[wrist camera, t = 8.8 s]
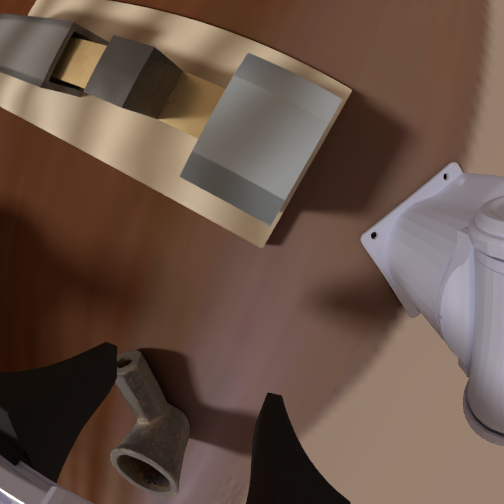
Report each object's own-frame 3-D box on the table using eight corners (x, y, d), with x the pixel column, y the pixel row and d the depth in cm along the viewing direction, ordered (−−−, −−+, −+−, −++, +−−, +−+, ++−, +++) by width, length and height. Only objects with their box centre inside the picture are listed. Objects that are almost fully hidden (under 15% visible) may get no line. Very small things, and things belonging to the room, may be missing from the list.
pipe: (163, 342, 25) (123, 402, 17) (209, 442, 28) (191, 502, 20) (108, 347, 26) (62, 398, 18) (159, 441, 29) (134, 494, 21)
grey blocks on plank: (349, 94, 18) (373, 65, 12) (263, 244, 22) (254, 275, 15) (47, -2, 17) (8, -22, 11) (-4, 101, 21) (-48, 97, 14)
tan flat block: (280, 123, 17) (277, 97, 11) (256, 166, 18) (239, 164, 11) (60, 39, 17) (3, 17, 10) (44, 72, 18) (-16, 57, 11)
